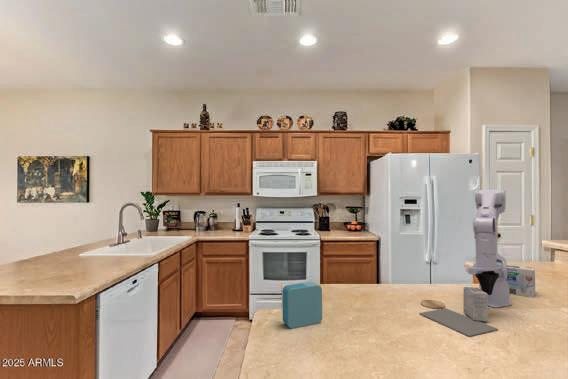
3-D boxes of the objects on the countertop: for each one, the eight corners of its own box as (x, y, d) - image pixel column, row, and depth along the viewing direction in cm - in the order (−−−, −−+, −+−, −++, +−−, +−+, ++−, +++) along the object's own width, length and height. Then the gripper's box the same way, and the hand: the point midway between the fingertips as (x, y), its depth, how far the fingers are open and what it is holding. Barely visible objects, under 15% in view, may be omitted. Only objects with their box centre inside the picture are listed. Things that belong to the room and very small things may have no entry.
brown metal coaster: (432, 300, 114) (432, 298, 114) (450, 307, 106) (450, 305, 106) (416, 302, 111) (415, 301, 111) (433, 310, 103) (433, 308, 103)
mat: (445, 309, 104) (445, 308, 104) (498, 330, 87) (498, 328, 87) (419, 314, 100) (419, 313, 100) (469, 337, 83) (469, 335, 83)
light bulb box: (501, 292, 122) (500, 266, 122) (503, 289, 127) (502, 263, 127) (535, 298, 115) (534, 270, 115) (535, 294, 120) (534, 267, 120)
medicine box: (488, 322, 92) (488, 294, 93) (472, 320, 93) (473, 292, 93) (477, 313, 100) (477, 287, 100) (462, 312, 101) (463, 286, 101)
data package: (315, 317, 98) (315, 281, 98) (322, 322, 94) (322, 284, 94) (282, 324, 93) (282, 285, 93) (288, 329, 89) (287, 289, 89)
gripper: (488, 249, 105) (490, 288, 105) (459, 252, 100) (460, 293, 100) (509, 253, 99) (511, 294, 98) (479, 256, 94) (481, 299, 93)
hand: (487, 294), depth 99 cm, fingers closed
